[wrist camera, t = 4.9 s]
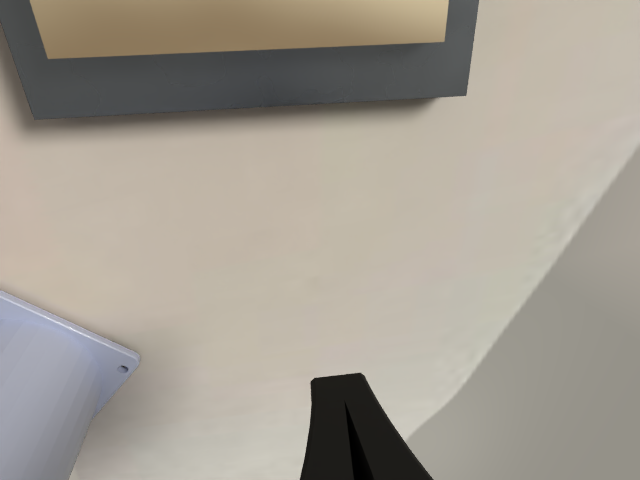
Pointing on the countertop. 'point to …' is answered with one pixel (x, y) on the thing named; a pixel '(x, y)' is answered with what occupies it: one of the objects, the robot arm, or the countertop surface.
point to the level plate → (230, 25)
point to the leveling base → (237, 73)
